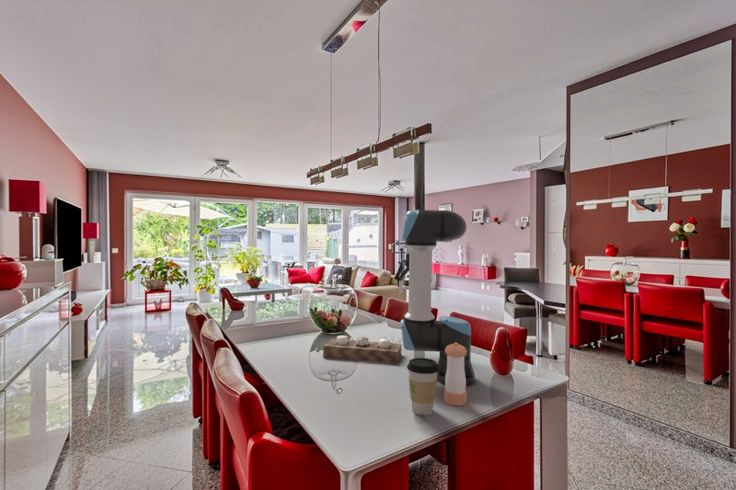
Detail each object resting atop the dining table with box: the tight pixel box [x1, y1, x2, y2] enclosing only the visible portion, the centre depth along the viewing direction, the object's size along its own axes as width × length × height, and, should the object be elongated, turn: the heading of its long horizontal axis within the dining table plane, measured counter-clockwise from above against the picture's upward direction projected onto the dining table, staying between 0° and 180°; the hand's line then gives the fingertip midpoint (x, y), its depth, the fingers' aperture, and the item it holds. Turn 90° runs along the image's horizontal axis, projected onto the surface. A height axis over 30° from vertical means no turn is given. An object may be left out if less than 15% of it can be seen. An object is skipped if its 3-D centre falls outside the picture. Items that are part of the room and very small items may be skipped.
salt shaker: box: [443, 342, 468, 406], centre depth 118 cm, size 7×7×19 cm
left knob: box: [336, 335, 349, 346], centre depth 168 cm, size 5×5×5 cm
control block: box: [322, 338, 402, 364], centre depth 166 cm, size 34×13×5 cm, turn 77°
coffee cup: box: [406, 357, 439, 416], centre depth 111 cm, size 10×10×15 cm
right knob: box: [378, 338, 391, 349], centre depth 163 cm, size 5×5×5 cm
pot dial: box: [357, 336, 369, 347], centre depth 166 cm, size 5×5×5 cm
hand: (412, 294), depth 185 cm, fingers open, 13 cm apart
